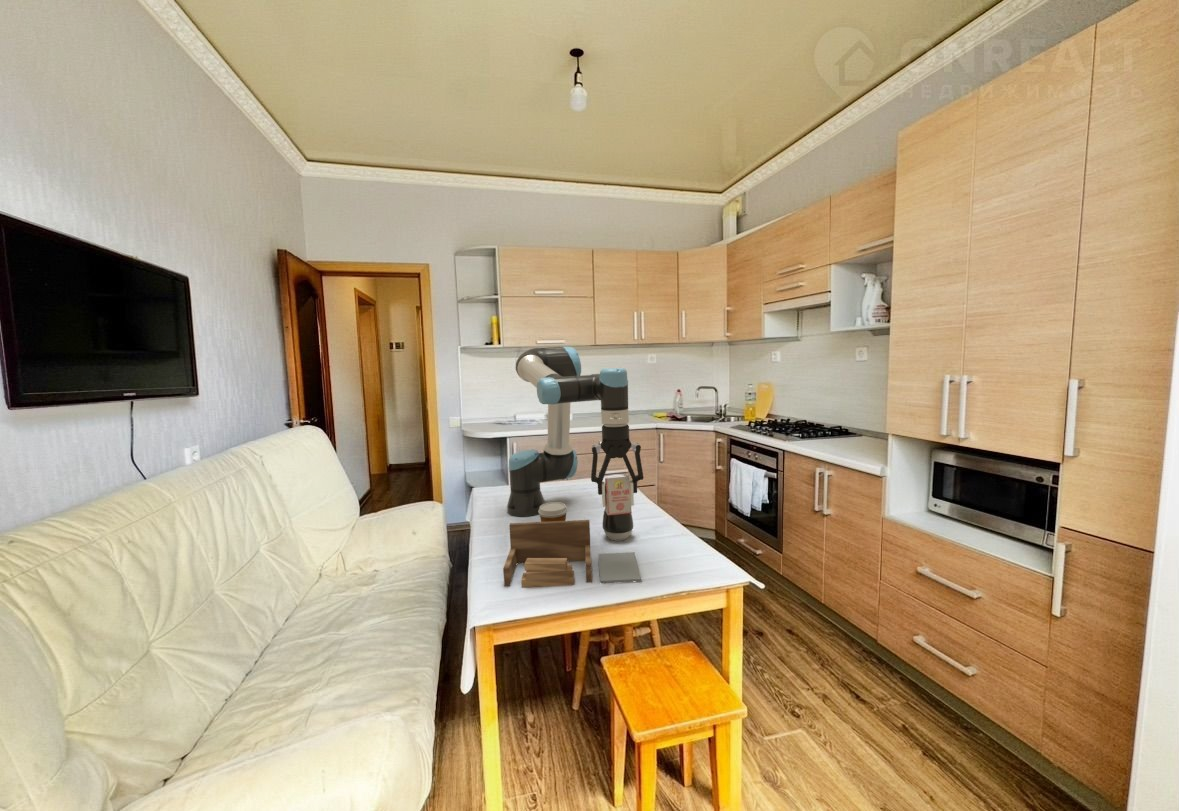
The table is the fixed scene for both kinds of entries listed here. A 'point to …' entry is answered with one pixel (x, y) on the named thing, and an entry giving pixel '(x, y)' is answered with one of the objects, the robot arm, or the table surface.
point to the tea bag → (617, 496)
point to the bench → (548, 544)
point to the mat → (618, 567)
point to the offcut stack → (547, 572)
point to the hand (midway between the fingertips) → (617, 504)
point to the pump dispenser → (617, 526)
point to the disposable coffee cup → (552, 512)
